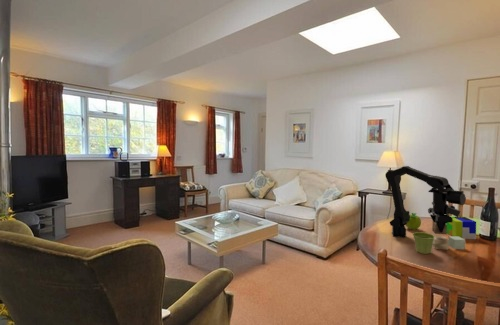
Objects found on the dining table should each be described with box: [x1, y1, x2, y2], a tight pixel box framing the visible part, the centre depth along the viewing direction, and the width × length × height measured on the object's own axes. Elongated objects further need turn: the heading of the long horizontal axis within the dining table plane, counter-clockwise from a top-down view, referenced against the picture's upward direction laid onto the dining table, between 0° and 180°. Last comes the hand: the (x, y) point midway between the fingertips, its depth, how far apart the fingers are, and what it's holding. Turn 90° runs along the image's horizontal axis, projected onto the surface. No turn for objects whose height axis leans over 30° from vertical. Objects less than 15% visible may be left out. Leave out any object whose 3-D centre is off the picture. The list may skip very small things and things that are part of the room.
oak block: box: [432, 235, 449, 251], centre depth 136 cm, size 6×6×5 cm
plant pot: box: [412, 231, 436, 255], centre depth 131 cm, size 9×9×9 cm
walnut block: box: [432, 221, 448, 236], centre depth 136 cm, size 5×5×5 cm
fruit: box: [405, 212, 422, 231], centre depth 166 cm, size 9×9×10 cm
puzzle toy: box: [446, 216, 477, 240], centre depth 151 cm, size 10×10×10 cm
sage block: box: [447, 235, 466, 250], centre depth 135 cm, size 5×5×5 cm
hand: (439, 230), depth 136 cm, fingers closed on walnut block, 5 cm apart
